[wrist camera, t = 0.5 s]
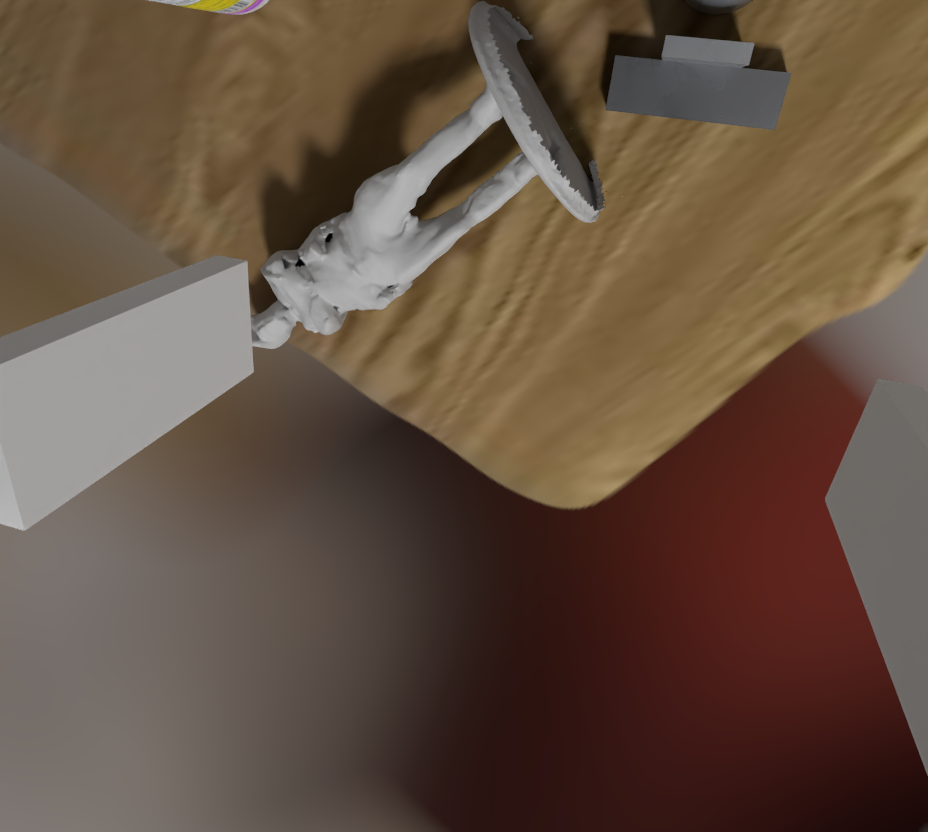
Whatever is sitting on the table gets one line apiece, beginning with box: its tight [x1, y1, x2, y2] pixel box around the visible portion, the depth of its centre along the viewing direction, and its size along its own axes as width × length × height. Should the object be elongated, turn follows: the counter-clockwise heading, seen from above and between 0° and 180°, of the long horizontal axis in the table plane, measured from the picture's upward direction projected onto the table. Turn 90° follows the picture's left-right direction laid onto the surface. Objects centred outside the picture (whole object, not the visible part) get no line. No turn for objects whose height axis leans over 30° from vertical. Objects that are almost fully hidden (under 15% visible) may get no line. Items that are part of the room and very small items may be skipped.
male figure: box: [250, 1, 607, 349], centre depth 36 cm, size 11×10×25 cm
